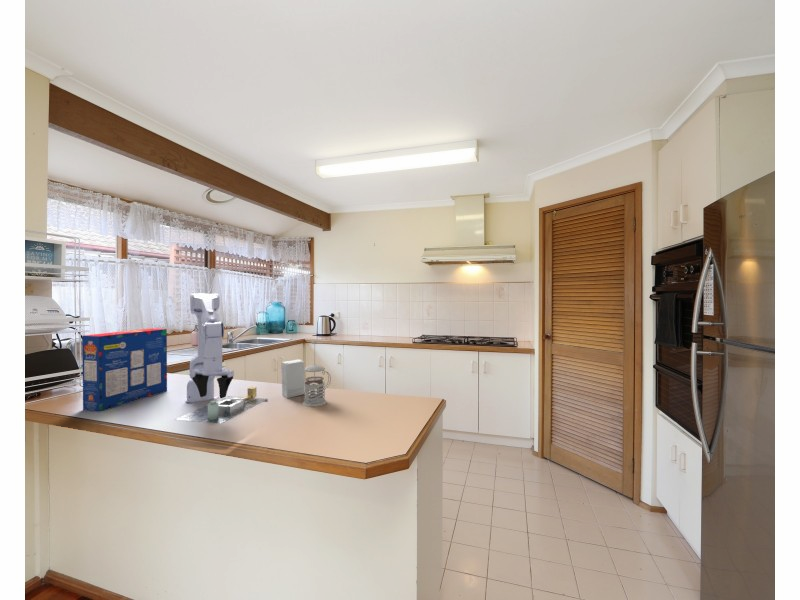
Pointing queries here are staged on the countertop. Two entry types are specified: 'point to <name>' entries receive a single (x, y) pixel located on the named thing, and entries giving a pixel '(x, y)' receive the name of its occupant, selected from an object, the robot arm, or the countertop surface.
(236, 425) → the countertop surface
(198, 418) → the dock
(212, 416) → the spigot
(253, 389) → the pin
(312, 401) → the french press
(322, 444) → the countertop surface
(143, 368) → the blue flat upright box
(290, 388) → the skincare box
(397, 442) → the countertop surface
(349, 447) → the countertop surface
